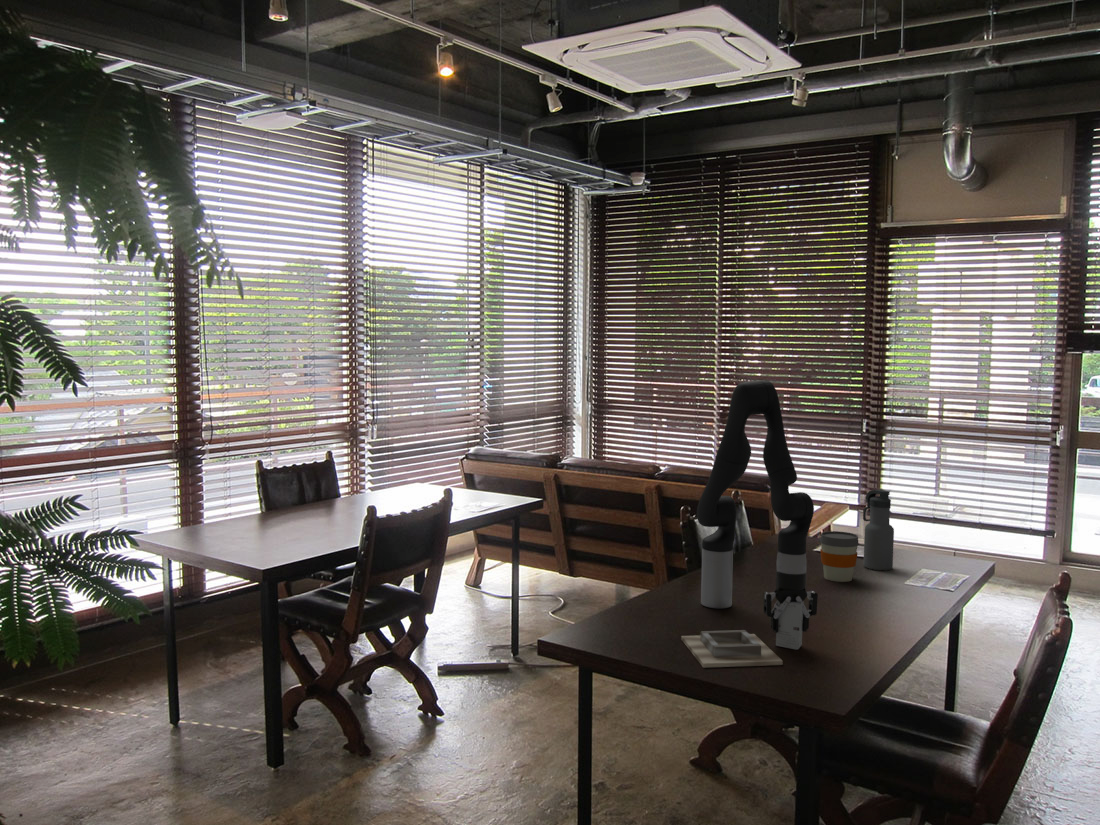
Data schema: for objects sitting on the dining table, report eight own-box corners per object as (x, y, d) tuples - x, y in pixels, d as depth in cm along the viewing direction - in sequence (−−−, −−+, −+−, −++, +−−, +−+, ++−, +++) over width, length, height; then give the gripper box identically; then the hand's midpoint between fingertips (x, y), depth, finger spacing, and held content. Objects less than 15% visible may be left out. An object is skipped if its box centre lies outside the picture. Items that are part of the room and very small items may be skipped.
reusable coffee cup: (862, 583, 280) (864, 539, 279) (825, 583, 280) (826, 538, 279) (850, 573, 292) (851, 531, 291) (814, 573, 293) (815, 530, 291)
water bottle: (856, 565, 304) (859, 489, 302) (876, 562, 308) (879, 487, 306) (878, 572, 295) (881, 493, 293) (898, 569, 299) (901, 491, 297)
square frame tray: (681, 639, 223) (681, 626, 223) (753, 637, 225) (754, 624, 225) (703, 667, 203) (703, 653, 203) (782, 664, 205) (782, 650, 205)
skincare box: (775, 646, 218) (776, 600, 218) (779, 641, 222) (780, 596, 222) (799, 650, 216) (800, 604, 215) (803, 645, 219) (804, 599, 219)
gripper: (811, 565, 222) (809, 626, 223) (759, 566, 220) (757, 627, 222) (824, 572, 215) (822, 635, 216) (770, 573, 213) (768, 636, 214)
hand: (789, 631), depth 219 cm, fingers closed on skincare box, 7 cm apart
